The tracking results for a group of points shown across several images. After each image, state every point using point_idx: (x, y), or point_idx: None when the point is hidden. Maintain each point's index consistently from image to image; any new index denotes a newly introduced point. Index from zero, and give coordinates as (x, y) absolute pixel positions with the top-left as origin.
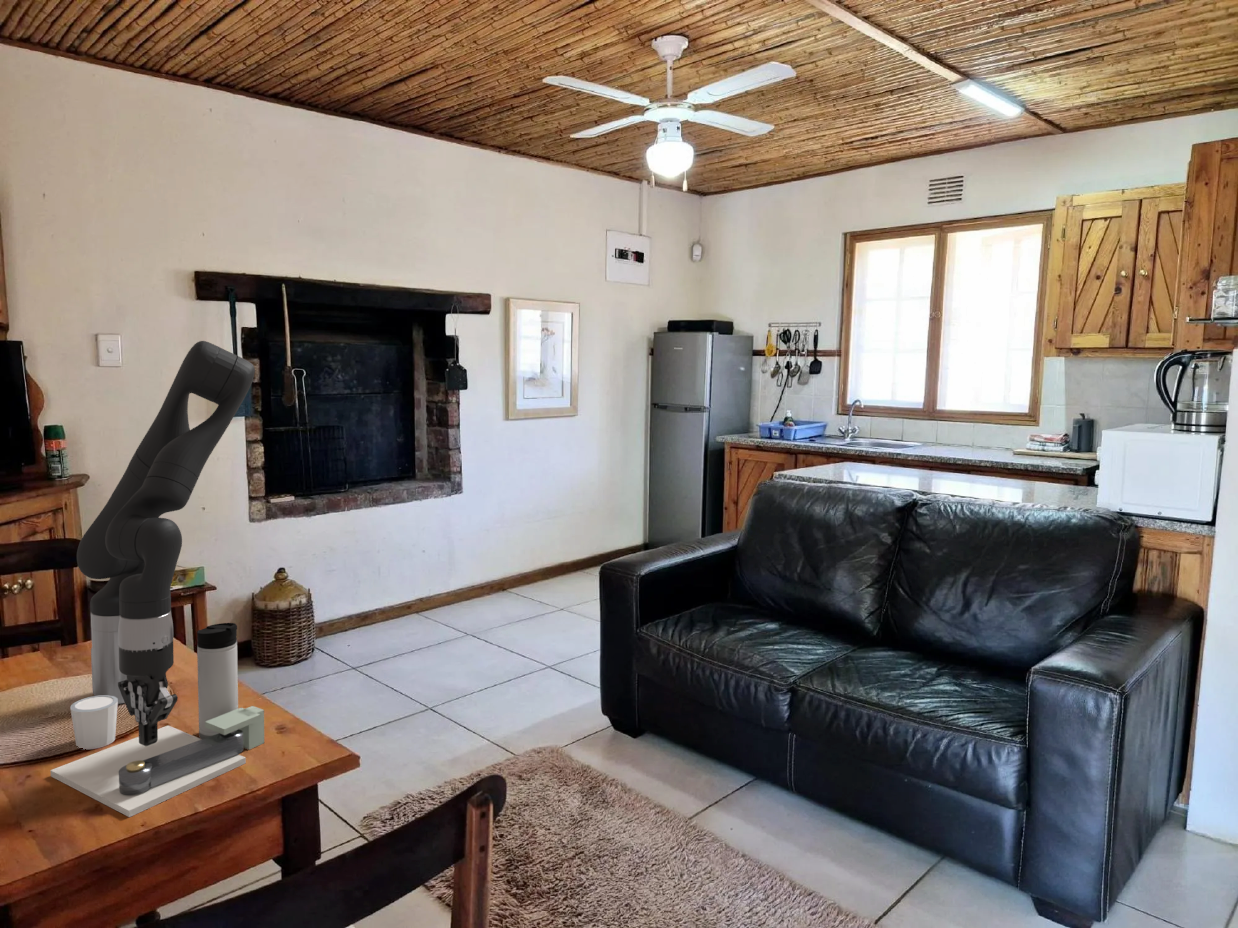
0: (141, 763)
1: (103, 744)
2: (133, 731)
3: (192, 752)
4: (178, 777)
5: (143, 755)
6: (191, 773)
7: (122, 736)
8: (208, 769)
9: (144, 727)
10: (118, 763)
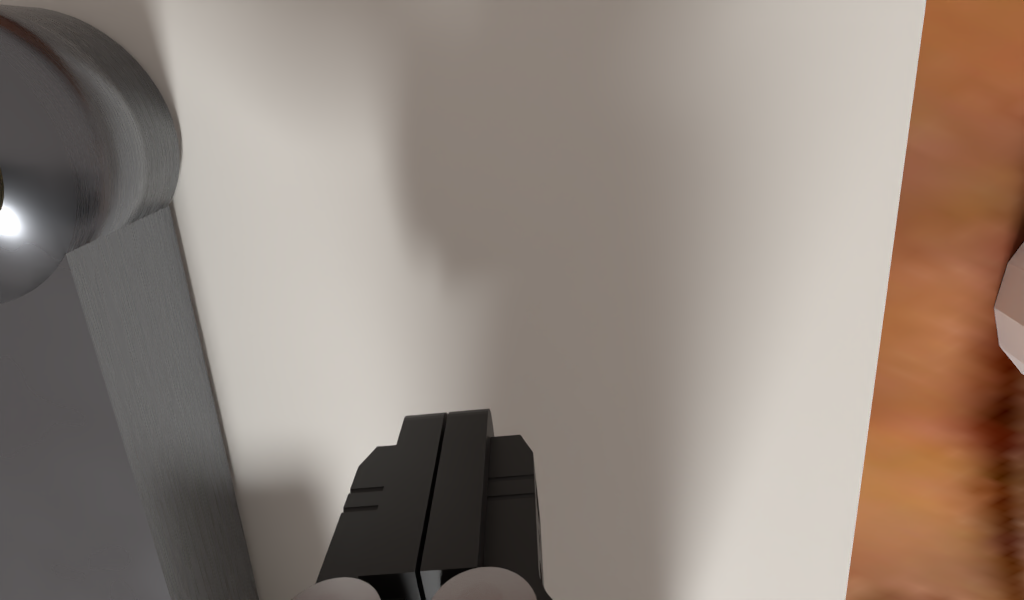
0: None
1: (1010, 290)
2: (1008, 481)
3: (2, 575)
4: None
5: (563, 378)
6: None
7: (1011, 417)
8: None
9: (371, 554)
10: (579, 220)
